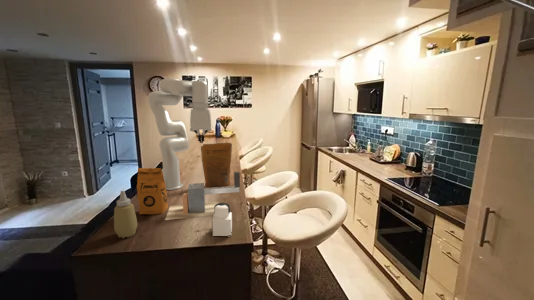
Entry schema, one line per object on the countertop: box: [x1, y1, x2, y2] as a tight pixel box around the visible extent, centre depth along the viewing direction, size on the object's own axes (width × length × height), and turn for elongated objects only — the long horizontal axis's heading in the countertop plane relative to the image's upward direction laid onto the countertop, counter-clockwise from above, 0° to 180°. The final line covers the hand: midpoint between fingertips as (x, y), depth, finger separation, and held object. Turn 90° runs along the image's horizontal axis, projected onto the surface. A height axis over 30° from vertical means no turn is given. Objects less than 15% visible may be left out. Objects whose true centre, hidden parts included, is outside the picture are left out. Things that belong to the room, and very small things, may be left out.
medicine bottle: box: [211, 202, 233, 237], centre depth 98 cm, size 7×7×12 cm
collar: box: [182, 192, 189, 214], centre depth 117 cm, size 7×2×7 cm, turn 14°
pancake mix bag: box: [200, 142, 233, 188], centre depth 155 cm, size 7×19×28 cm, turn 100°
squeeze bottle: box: [113, 190, 138, 239], centre depth 96 cm, size 8×8×18 cm
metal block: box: [187, 182, 206, 214], centre depth 117 cm, size 8×7×12 cm
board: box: [164, 201, 220, 221], centre depth 118 cm, size 16×24×1 cm, turn 104°
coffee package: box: [136, 167, 169, 216], centre depth 116 cm, size 10×12×22 cm
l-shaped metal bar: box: [204, 171, 241, 195], centre depth 119 cm, size 2×20×10 cm, turn 104°
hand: (201, 142), depth 126 cm, fingers closed
